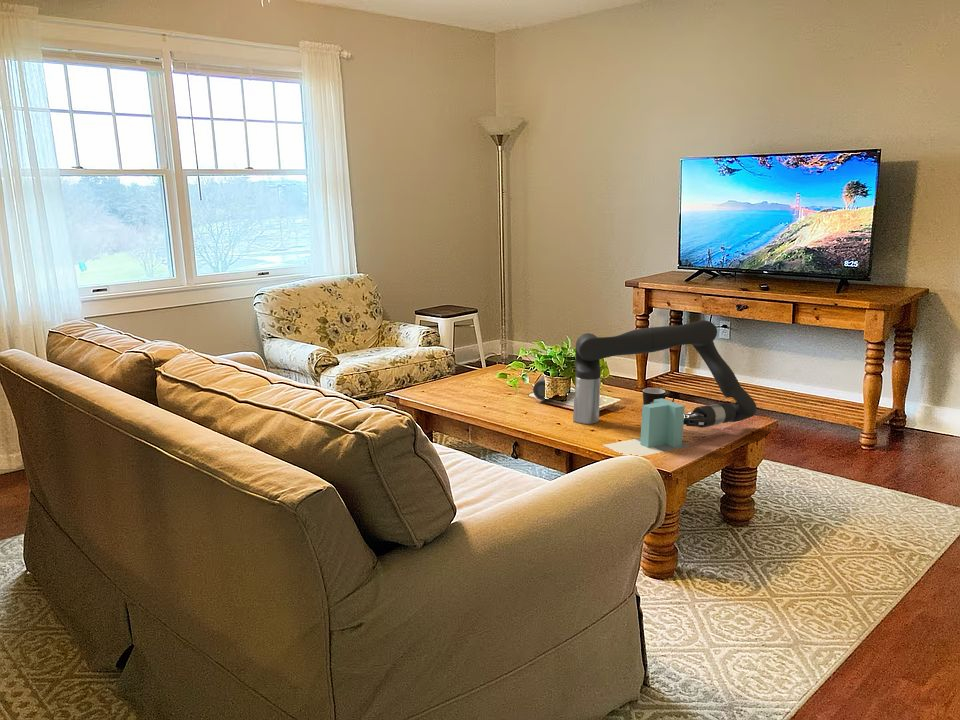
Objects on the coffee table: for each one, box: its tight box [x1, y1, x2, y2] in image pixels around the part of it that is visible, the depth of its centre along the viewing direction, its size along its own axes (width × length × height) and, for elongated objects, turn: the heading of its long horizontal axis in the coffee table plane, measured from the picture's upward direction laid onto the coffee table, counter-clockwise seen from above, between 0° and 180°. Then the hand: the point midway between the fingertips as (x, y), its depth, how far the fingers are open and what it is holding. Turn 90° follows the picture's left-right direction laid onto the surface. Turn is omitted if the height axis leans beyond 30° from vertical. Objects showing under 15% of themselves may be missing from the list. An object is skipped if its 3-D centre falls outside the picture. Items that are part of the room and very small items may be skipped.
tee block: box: [640, 398, 685, 448], centre depth 270 cm, size 12×11×14 cm
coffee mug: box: [642, 387, 675, 405], centre depth 305 cm, size 12×9×10 cm
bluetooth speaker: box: [532, 376, 546, 401], centre depth 332 cm, size 23×9×10 cm, turn 157°
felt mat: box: [602, 437, 691, 457], centre depth 270 cm, size 26×15×1 cm, turn 118°
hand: (671, 422), depth 273 cm, fingers closed
